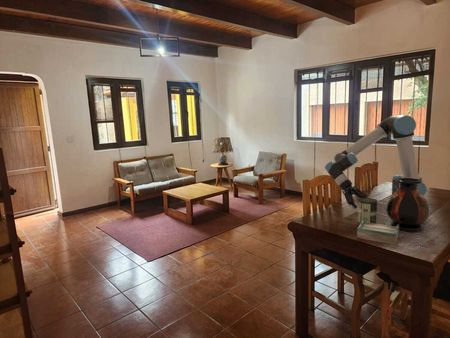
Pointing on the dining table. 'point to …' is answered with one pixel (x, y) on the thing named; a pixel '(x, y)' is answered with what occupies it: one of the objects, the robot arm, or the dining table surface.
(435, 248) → the dining table surface
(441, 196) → the dining table surface
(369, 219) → the coffee can
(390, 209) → the amphora vase
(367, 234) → the clear glass tray
